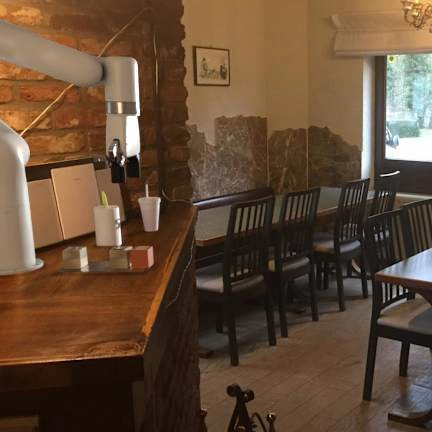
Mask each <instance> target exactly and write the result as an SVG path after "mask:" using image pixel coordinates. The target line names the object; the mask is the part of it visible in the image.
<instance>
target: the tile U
mask: <svg viewBox="0 0 432 432" xmlns="http://www.w3.org/2000/svg"><path fill="white" fill-rule="evenodd" d="M132 249H133V246H132V245H131V246H130V245H128V246H121V245H120V246H113V247H112V248H111V249H109V250H108V251H109V261H110V266H111V269H120V268H129V267H130V266H131V254H130V250H132Z"/></svg>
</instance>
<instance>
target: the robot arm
mask: <svg viewBox="0 0 432 432" xmlns="http://www.w3.org/2000/svg"><path fill="white" fill-rule="evenodd" d="M0 61H3V62H5V63H8V64H11V65H14V66H16V67H19V68H24V69H28V70H31V71H34V72H38V73H41V74H43V75H46V76H49V77H51V78H55V79H57V80H61V81H63V82H66V83H68V84H71V85H74V86H76V87H81V88H92V87H93V88H94V87H102V86H104V102H105V103H104V104H105V115H106V125H105V152H106V153H105V154H106V156H107V158H108V160H109V166H110V179H111V180H110V181H111V183H112V184H120V185H121V184H126V183H127V178H128V179H129V178H130V179H140V178H141V157H140V154H141V139H140V138H141V137H140V127H139V118H138V117H140V116H141V112H140V110H141V108H140V107H141V106H140V91H139V90H140V87H139V67H138V62H137V60H136V59H135V58H133V57H131V56H118V55H110V56H106V57H103V56H96V55H91V54H90V53H87V52H84V51H81V50H78V49H77V48H73V47H70V46H67V45H65V44H63V43H59V42H57V41H54V40H52V39H49V38H47V37H44V36H42V35H39V34H38V33H37V32H34V31H32V30H30V29H28V28H25V27H23V26H20V25H17V24H15V23H12V22H9V21H6V20H4V19H1V18H0ZM30 157H31V150H30V147H29V145H28V143H27V141H26V140H25V139H24V138H23V137H22V136H21V135H20V134H19V133H17V132H16V131H15V130H14V129H13V128H12V127H10V126H9V125H8V124H7V123H6V122H5V121H3V119H1V118H0V276H8V275H18V274H25V273H28V272H32V271H36V270H38V269H40V268H42V267H43V266H44V260H42V259H41V258H38V257H37V258H36V251H35V240H34V231H33V221H32V212H31V205H30V204H31V203H30V196H29V188H28V182H27V181H28V180H27V176H26V170H25V169H26V167H25V166H26V165H27V164H28V162H29V160H30ZM125 160H127V161H125ZM124 165H125V166H124ZM126 177H127V178H126Z"/></svg>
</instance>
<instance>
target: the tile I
mask: <svg viewBox="0 0 432 432" xmlns="http://www.w3.org/2000/svg"><path fill="white" fill-rule="evenodd" d="M61 252H62V253H61V255H62V265H63V267H64V269H82V268H83V267H85V266H86V265H87V264H88V261H89V260H88V250H87V246H68V247H66V248H65V249H62V251H61Z"/></svg>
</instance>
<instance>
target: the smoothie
mask: <svg viewBox="0 0 432 432" xmlns="http://www.w3.org/2000/svg"><path fill="white" fill-rule="evenodd" d="M161 200H162V199H161V197H159V196H149V187H148V183H145V196H144V197H139V198H137V202H138V204H139V209H140V213H141V218H142V224H143V229H144V232H156V231H158V230H159V219H160V217H159V216H160V203H161V202H162V201H161Z"/></svg>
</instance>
